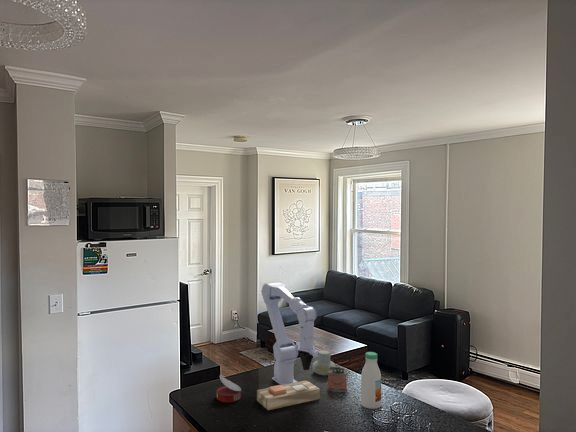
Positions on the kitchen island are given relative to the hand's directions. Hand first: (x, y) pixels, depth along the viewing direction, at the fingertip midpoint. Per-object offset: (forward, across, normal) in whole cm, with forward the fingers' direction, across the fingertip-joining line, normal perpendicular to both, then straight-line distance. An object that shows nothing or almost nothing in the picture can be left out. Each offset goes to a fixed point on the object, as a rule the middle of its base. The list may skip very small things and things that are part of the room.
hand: (306, 369), depth 175 cm
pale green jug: (+10, -15, +19) cm, 26 cm away
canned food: (+10, -10, -30) cm, 33 cm away
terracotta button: (+7, +3, -15) cm, 17 cm away
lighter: (+10, +4, +13) cm, 17 cm away
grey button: (+8, +3, -5) cm, 10 cm away
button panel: (+9, +3, -10) cm, 14 cm away
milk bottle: (+10, +22, +16) cm, 29 cm away
